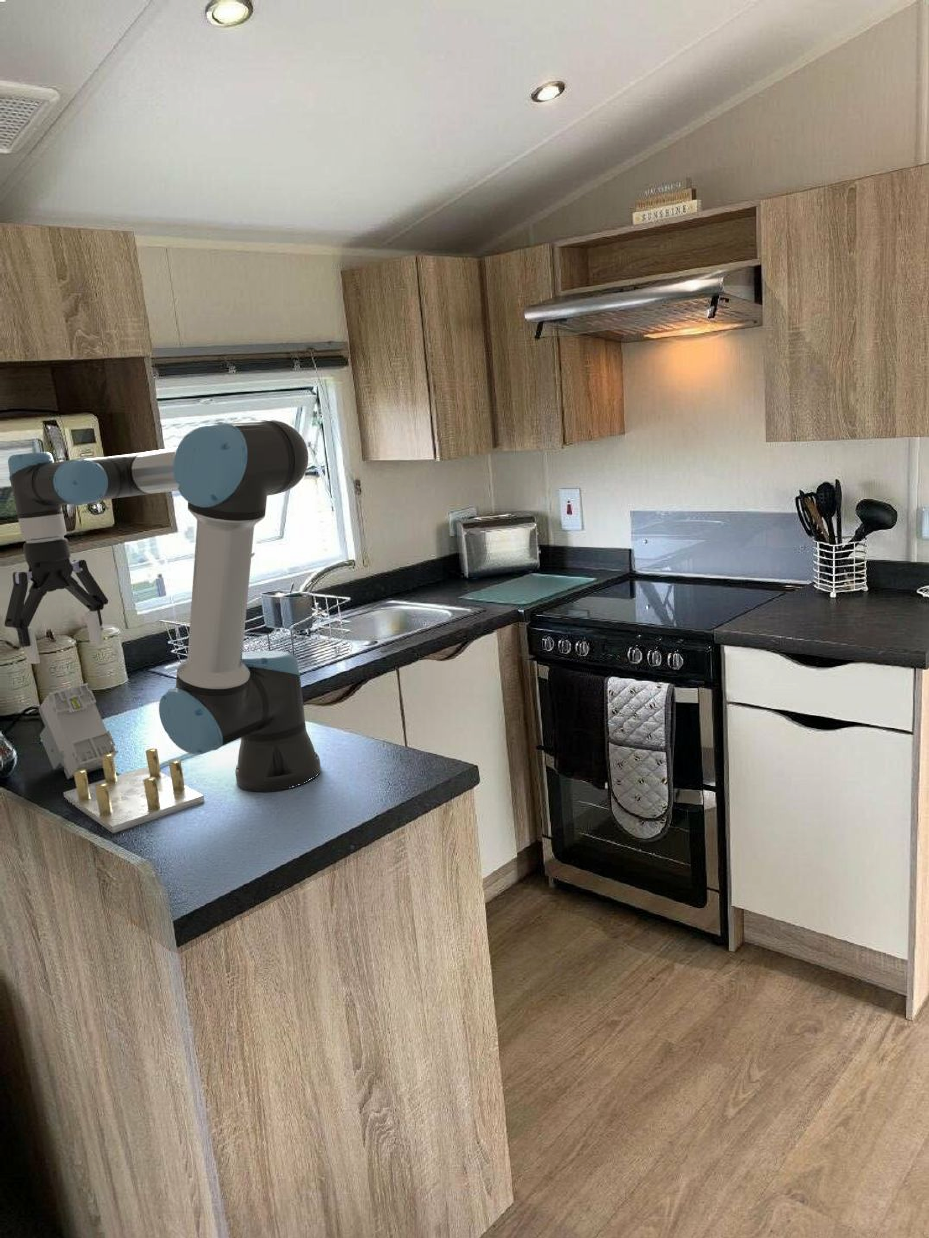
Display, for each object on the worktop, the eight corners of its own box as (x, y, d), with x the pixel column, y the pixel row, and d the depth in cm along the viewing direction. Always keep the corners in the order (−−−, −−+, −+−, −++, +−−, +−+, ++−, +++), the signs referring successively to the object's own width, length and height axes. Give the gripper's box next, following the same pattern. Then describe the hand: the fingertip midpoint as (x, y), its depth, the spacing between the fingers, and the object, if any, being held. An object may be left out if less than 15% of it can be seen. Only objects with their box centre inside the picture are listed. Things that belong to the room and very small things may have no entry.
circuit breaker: (95, 777, 192) (67, 710, 195) (118, 752, 183) (87, 682, 185) (58, 789, 187) (30, 721, 190) (80, 764, 177) (49, 692, 180)
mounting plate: (204, 801, 166) (199, 767, 165) (113, 833, 156) (106, 797, 155) (149, 771, 183) (144, 740, 182) (64, 798, 173) (58, 765, 172)
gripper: (89, 529, 186) (108, 636, 191) (-33, 551, 166) (-8, 670, 170) (115, 528, 182) (133, 637, 187) (-7, 550, 162) (18, 672, 166)
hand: (66, 653), depth 178 cm, fingers open, 13 cm apart
